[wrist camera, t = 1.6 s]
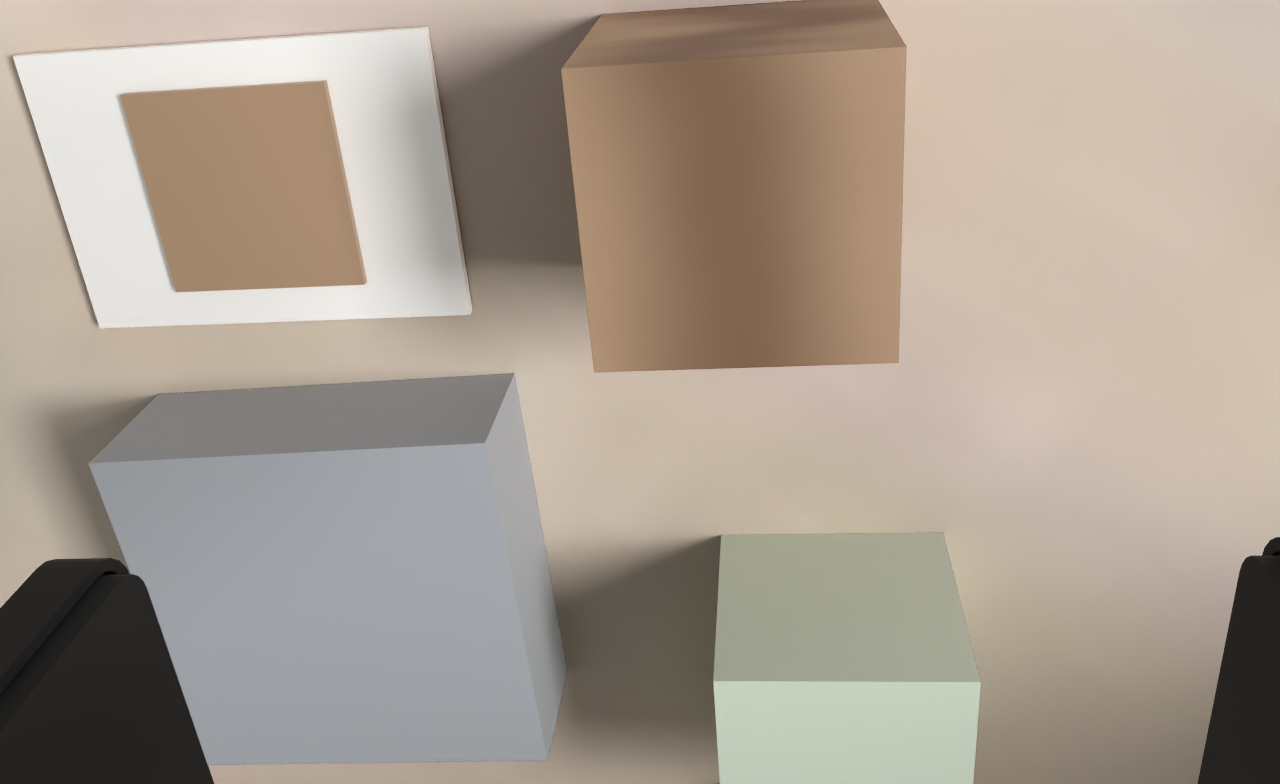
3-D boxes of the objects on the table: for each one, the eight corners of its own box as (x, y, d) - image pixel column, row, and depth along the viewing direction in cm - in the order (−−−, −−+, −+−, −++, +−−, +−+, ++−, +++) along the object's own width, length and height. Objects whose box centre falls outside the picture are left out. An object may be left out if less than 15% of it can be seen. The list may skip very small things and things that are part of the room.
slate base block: (517, 367, 30) (485, 442, 27) (568, 662, 35) (547, 760, 31) (163, 388, 31) (87, 463, 28) (258, 670, 36) (203, 765, 32)
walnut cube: (874, -5, 25) (906, 46, 19) (871, 254, 27) (898, 363, 22) (602, 13, 25) (561, 68, 20) (625, 265, 28) (594, 372, 23)
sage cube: (942, 531, 31) (980, 682, 25) (934, 700, 34) (966, 869, 28) (721, 533, 32) (713, 681, 26) (730, 699, 34) (724, 863, 29)
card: (427, 26, 26) (421, 30, 25) (472, 310, 29) (467, 317, 29) (20, 54, 27) (7, 58, 27) (105, 323, 30) (95, 331, 30)
